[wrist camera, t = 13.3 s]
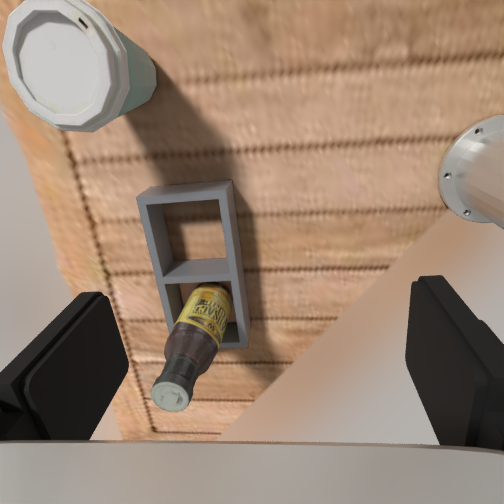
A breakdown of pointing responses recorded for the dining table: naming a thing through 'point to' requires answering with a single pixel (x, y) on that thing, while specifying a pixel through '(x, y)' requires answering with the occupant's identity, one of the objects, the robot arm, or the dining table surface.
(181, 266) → the dock
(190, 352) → the sauce bottle
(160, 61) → the dining table surface
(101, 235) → the dining table surface
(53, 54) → the disposable coffee cup
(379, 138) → the dining table surface
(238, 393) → the dining table surface
